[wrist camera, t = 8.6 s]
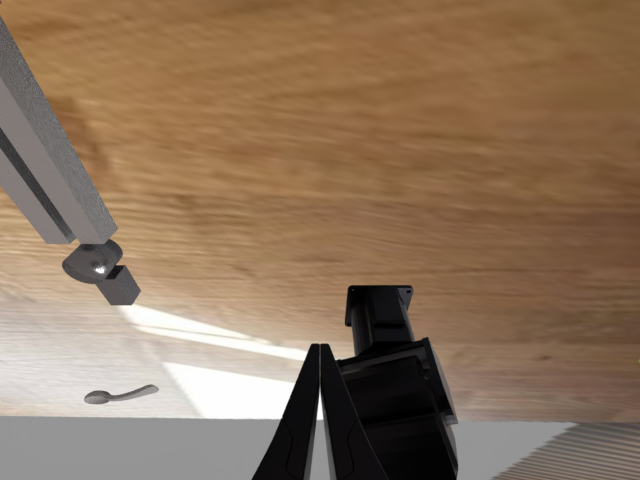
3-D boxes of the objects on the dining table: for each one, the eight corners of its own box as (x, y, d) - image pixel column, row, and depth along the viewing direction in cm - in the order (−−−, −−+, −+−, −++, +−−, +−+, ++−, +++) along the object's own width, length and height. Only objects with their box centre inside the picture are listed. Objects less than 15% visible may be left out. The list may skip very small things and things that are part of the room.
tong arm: (140, 261, 26) (124, 284, 23) (95, 261, 26) (74, 284, 23) (-66, -121, 12) (-153, -152, 10) (-164, -123, 12) (-274, -154, 10)
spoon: (83, 389, 43) (75, 403, 42) (153, 375, 42) (148, 389, 40) (97, 397, 45) (90, 410, 43) (165, 383, 44) (160, 397, 42)
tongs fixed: (141, 291, 28) (127, 312, 26) (105, 291, 28) (88, 312, 26) (-108, -122, 12) (-197, -151, 10) (-194, -122, 12) (-301, -151, 10)
